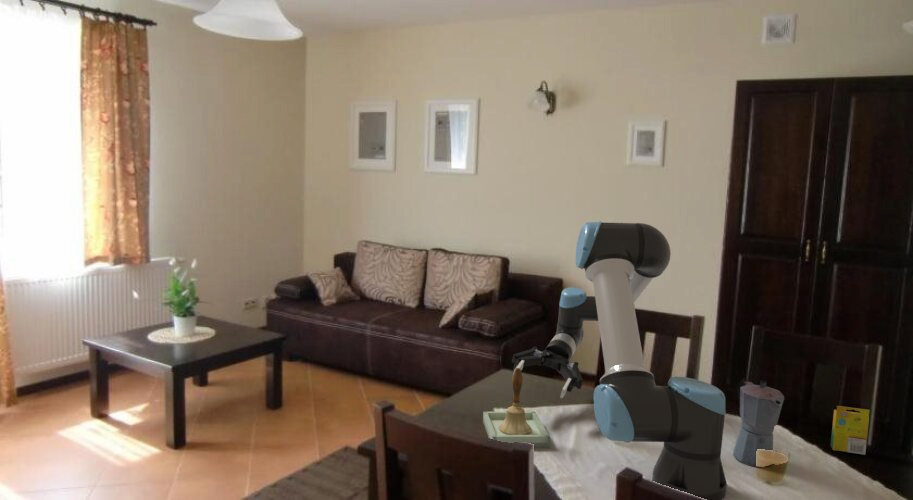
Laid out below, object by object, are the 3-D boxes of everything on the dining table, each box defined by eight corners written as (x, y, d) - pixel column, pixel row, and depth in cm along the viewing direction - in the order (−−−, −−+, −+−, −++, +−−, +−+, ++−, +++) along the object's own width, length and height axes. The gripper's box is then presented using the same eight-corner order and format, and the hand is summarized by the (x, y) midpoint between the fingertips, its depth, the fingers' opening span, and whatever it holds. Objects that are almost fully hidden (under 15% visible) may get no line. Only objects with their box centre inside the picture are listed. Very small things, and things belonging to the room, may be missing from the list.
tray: (548, 447, 157) (549, 436, 157) (492, 447, 155) (492, 436, 155) (534, 421, 173) (534, 411, 172) (482, 421, 171) (483, 411, 171)
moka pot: (757, 475, 146) (765, 390, 144) (713, 446, 161) (720, 369, 159) (791, 471, 149) (801, 388, 146) (745, 443, 164) (753, 367, 161)
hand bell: (492, 425, 166) (495, 365, 164) (520, 421, 169) (523, 362, 167) (508, 438, 158) (512, 375, 156) (537, 433, 162) (541, 372, 160)
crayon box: (862, 450, 162) (868, 406, 161) (865, 455, 159) (871, 410, 158) (829, 445, 165) (834, 401, 163) (831, 450, 162) (837, 405, 160)
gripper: (597, 377, 186) (579, 413, 168) (517, 347, 195) (492, 378, 176) (604, 355, 184) (586, 390, 165) (522, 325, 192) (497, 355, 173)
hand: (538, 384), depth 171 cm, fingers open, 13 cm apart
